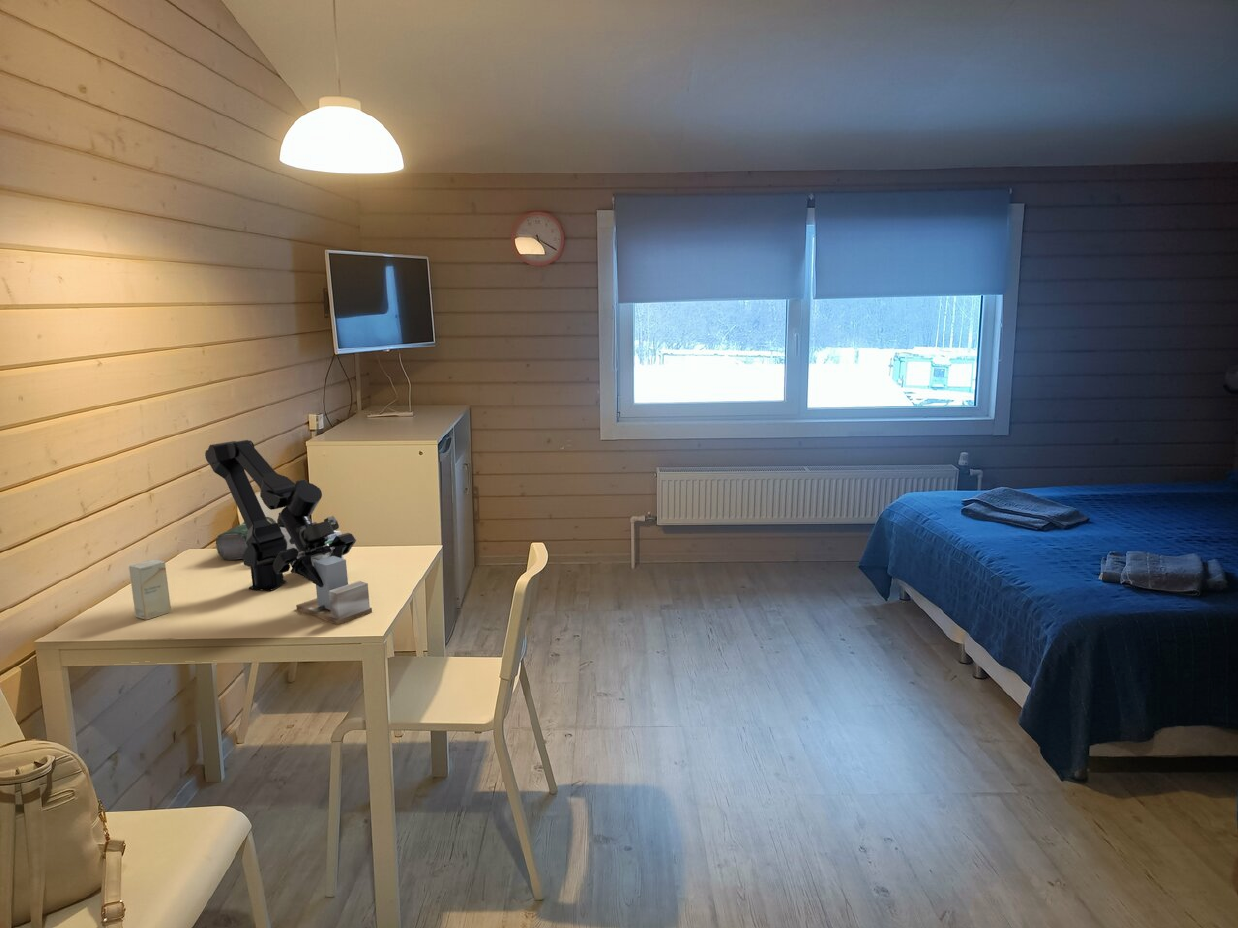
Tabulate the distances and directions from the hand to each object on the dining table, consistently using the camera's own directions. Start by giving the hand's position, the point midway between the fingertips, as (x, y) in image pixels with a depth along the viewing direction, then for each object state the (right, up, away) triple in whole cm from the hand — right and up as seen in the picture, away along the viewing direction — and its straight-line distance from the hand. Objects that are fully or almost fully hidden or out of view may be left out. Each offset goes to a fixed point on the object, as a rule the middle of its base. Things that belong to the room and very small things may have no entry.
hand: (332, 582), depth 195 cm
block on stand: (0, -7, +2) cm, 7 cm away
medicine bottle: (-25, +2, +43) cm, 50 cm away
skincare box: (-41, -8, +2) cm, 42 cm away
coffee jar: (-40, +4, +38) cm, 55 cm away
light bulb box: (-13, -1, +30) cm, 32 cm away
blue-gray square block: (0, -5, 0) cm, 5 cm away
